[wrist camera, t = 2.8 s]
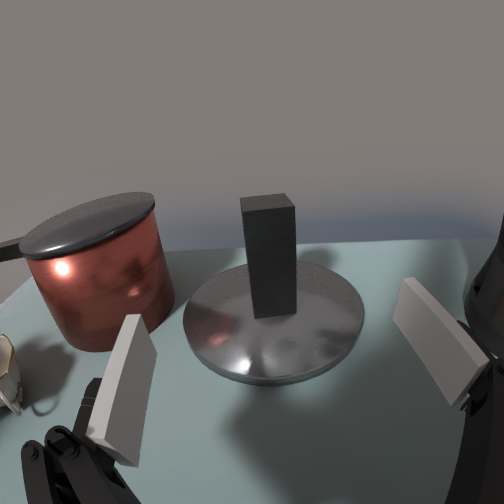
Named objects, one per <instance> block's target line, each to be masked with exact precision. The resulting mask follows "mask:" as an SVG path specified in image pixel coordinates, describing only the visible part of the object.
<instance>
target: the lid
mask: <svg viewBox="0 0 504 504" xmlns="http://www.w3.org/2000/svg"><path fill="white" fill-rule="evenodd" d="M240 204H241V213H242V222H243V231H244V239H245V248H246V257H247V264H244V265H240V266H237V267H234V268H231V269H228V270H226V271H224V272H222V273H219V274H218V275H216V276H214V277H212V278H211V279H209V280H208V281H206V282H205V283H204V284H202V285H201V286H200V287H199V288H198V289H197V290H196V291H195V292H194V293H193V295H192V296H191V297H190V299H189V301H188V303H187V305H186V307H185V310H184V314H183V326H184V331H185V334H186V337H187V340H188V342H189V345H190V348H191V349H192V351H193V353H194V354H195V356H196V357H197V358H198V359H199V360H200V361H201V362H202V363H203V364H204V365H205V366H206V367H208V368H209V369H210V370H212V371H214V372H215V373H217V374H219V375H221V376H223V377H225V378H228V379H230V380H233V381H237V382H240V383H244V384H250V385H257V386H281V385H290V384H294V383H299V382H303V381H306V380H309V379H312V378H314V377H317V376H319V375H321V374H323V373H325V372H327V371H329V370H330V369H332V368H333V367H334V366H336V365H337V364H339V363H340V362H341V361H342V360H343V359H344V358H345V357H346V356H347V355H348V354H349V353H350V351H351V350H352V349H353V347H354V345H355V343H356V341H357V339H358V337H359V333H360V330H361V325H362V320H363V306H362V302H361V299H360V296H359V295H358V293H357V291H356V290H355V288H354V287H353V286H352V285H351V284H350V283H349V282H348V281H347V280H346V279H344V278H343V277H342V276H340V275H339V274H337V273H335V272H333V271H331V270H329V269H327V268H324V267H321V266H318V265H315V264H311V263H307V262H301V261H296V223H295V206H294V204H293V203H292V202H291V201H290V199H289V198H288V197H287V196H286V195H285V194H284V193H283V194H272V195H262V196H253V197H245V198H240Z"/></svg>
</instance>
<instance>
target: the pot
mask: <svg viewBox="0 0 504 504" xmlns="http://www.w3.org/2000/svg"><path fill="white" fill-rule="evenodd" d="M154 207H155V201H154V196H153V195H152V194H150V193H146V192H131V193H123V194H117V195H112V196H108V197H104V198H100V199H96V200H93V201H90V202H87V203H84V204H81V205H78V206H76V207H73V208H71V209H69V210H66V211H64V212H62V213H60V214H58V215H56V216H54V217H52V218H50V219H48V220H46V221H44V222H43V223H41V224H40V225H38V226H37V227H35V228H34V229H32V230H31V231H30V232H29V233H28V234H27V235H25V236H24V237H20V238H16V239H13V240H9V241H6V242H2V243H0V262H3V261H8V260H13V259H18V258H22V257H24V258H26V260H27V262H28V265H29V268H30V270H31V273H32V275H33V277H34V280H35V282H36V284H37V286H38V288H39V291H40V293H41V295H42V297H43V299H44V301H45V303H46V305H47V307H48V309H49V311H50V313H51V315H52V316H53V318H54V320H55V322H56V324H57V326H58V327H59V329H60V331H61V333H62V334H63V336H64V338H65V339H66V341H67V342H68V343H69V344H70V345H71V346H73V347H74V348H77V349H79V350H82V351H86V352H105V351H112V350H113V348H114V345H115V343H116V340H117V337H118V335H119V332H120V330H121V327H122V325H123V322H124V320H125V318H126V315H132V314H141V316H142V319H143V321H144V324H145V326H146V329H147V331H148V334H149V333H151V332H152V331H153V330H154V329H156V328H157V327H158V326H159V325H160V324H161V323H162V322H163V321H164V320H165V318H166V317H167V315H168V314H169V312H170V311H171V309H172V306H173V303H174V298H175V296H174V290H173V286H172V283H171V279H170V276H169V272H168V268H167V264H166V261H165V257H164V253H163V249H162V245H161V241H160V236H159V232H158V228H157V223H156V219H155V215H154V210H153V209H154Z"/></svg>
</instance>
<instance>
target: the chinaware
mask: <svg viewBox="0 0 504 504" xmlns="http://www.w3.org/2000/svg"><path fill="white" fill-rule="evenodd" d="M22 390H23V388H21V373H20V369H19V366H18V363H17V360H16V358H15V350H14V347H13V345H12V344H11V342H10V340H9V339H8V337H6V336H5V335H4V334H2V335H0V407H5V406H7V407H9V408H10V409H11V410H12V411H13V412H14V413H15V414H16V415H17V416H21V414H22V413H21V411H20V410H19V409H20V404H19V403H20V402H21V401H23V399H22Z"/></svg>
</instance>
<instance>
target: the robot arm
mask: <svg viewBox="0 0 504 504" xmlns="http://www.w3.org/2000/svg"><path fill="white" fill-rule="evenodd" d="M465 313H466V317H467V320H468V323H469V325H470V327H471V329H472V330H473V331H472V330H471V329H470V328H469V327H468V326H467V325H466V324H464V323H463V322H461V321H459V320H458V321H456V320H455V319H454V318H453V317H452V316H451V315H450V314H449V313H448V311H447V310H446V309H445V308H444V307H443V306H442V305H441V304H440V303H439V302H438V301H437V300H436V299H435V298H434V297H433V296H432V295H431V294H430V293H429V292H428V291H427V290H426V289H425V288H424V287H423V286H422V285H421V284H420V283H419V282H418V281H417V280H416V279H415V278H414V277H409V278H404V279H402V283H401V287H400V291H399V295H398V299H397V303H396V307H395V311H394V314H393V318H392V320H393V321H394V323H395V324H396V325H397V327H398V328H399V330H400V331H401V332H402V334H403V335H404V336H405V338H406V339H407V341H408V342H409V344H410V345H411V346H412V348H413V349H414V351H415V352H416V354H417V355H418V357H419V358H420V359H421V361H422V362H423V364H424V365H425V367H426V368H427V370H428V371H429V373H430V375H431V376H432V378H433V379H434V381H435V382H436V384H437V385H438V387H439V389H440V390H441V392H442V393H443V395H444V397H445V398H446V400H447V401H448V403H449V405H450V406H453V405H454V404H456V403H458V402H459V401H461V400H462V399H463V398H464V397H465V395H466V394H467V393H469V395H470V397H469V398H468V399H467V400H466V402H465V403H464V404H463V405H462V407H461V409H460V411H462V410H463V409H464V408H465V406H466V405H467V408H466V409H465V411H466V418H465V425H464V431H463V437H462V442H461V447H460V452H459V456H458V461H457V465H456V469H455V472H454V476H453V480H452V483H451V486H450V489H449V492H448V495H447V498H446V501H445V504H504V215H503V221H502V225H501V230H500V234H499V238H498V242H497V244H496V246H495V248H494V250H493V251H492V253H491V255H490V256H489V258H488V259H487V261H486V262H485V264H484V266H483V267H482V269H481V270H480V271H479V273H478V274H477V276H476V277H475V279H474V280H473V282H472V284H471V287H470V290H469V292H468V295H467V298H466V301H465ZM473 332H474V333H475V334H473ZM488 349H489V350H490V351H491V352H492V353H493V354H495V355H496V356H497V357H499V358H498V359H496V358H495V357H494V356H493V355H492V354H491V353H490V351H489V350H488ZM156 357H157V352H156V350H155V348H154V345H153V343H152V341H151V338H150V336H149V334H148V331H147V329H146V326H145V324H144V321H143V319H142V316H141V314H132V315H126V318H125V320H124V322H123V325H122V327H121V330H120V332H119V335H118V337H117V340H116V343H115V345H114V348H113V351H112V353H111V356H110V359H109V362H108V364H107V367H106V370H105V373H104V376H103V378H93V380H92V381H91V382H90V383H89V385H88V386H87V388H86V391H85V394H84V398H83V399H82V402H81V406H80V408H79V412H78V415H77V418H76V421H75V424H74V428H73V431H72V432H71V431H70V430H69V429H68V428H66V427H64V426H60V425H58V426H54V427H52V428H51V429H50V430H48V432H47V434H46V435H45V440H44V442H45V446H42V445H41V444H40V443H39V442H37V441H35V440H30V441H27V442H26V443H25V444H24V445H23V447H22V449H21V461H22V470H23V478H24V484H25V490H26V496H27V501H28V504H141V503H140V501H139V500H138V499H137V497H136V496H135V495H134V493H133V492H132V491H131V489H130V488H129V487H128V485H127V484H126V482H125V481H124V479H123V478H122V477H121V475H120V474H119V472H118V471H117V469H116V468H115V467H114V463H115V461H117V462H118V463H119V464H121V465H124V466H130V467H137V468H138V466H139V458H140V450H141V442H142V435H143V428H144V422H145V416H146V410H147V404H148V398H149V392H150V387H151V382H152V377H153V372H154V367H155V362H156Z"/></svg>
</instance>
